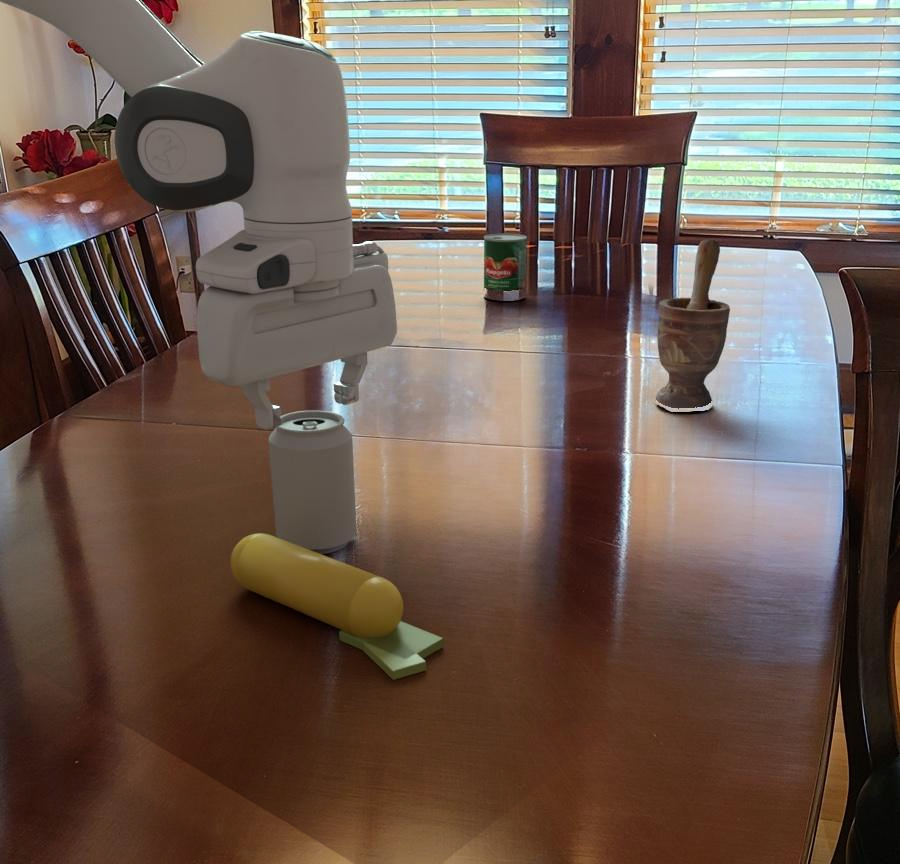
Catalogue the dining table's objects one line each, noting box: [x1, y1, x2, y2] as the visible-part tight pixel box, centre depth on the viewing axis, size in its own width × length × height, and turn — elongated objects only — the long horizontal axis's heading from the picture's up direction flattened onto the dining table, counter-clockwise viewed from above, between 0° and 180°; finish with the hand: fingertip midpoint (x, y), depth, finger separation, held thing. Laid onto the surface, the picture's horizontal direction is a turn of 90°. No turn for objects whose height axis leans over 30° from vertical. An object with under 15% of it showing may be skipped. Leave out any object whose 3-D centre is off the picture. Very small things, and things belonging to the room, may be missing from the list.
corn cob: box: [230, 532, 444, 681], centre depth 86 cm, size 22×6×5 cm, turn 50°
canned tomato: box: [483, 233, 528, 291], centre depth 199 cm, size 8×8×11 cm
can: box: [268, 410, 357, 555], centre depth 99 cm, size 8×8×12 cm
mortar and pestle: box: [655, 238, 731, 409], centre depth 137 cm, size 12×9×20 cm
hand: (309, 414), depth 96 cm, fingers open, 8 cm apart
